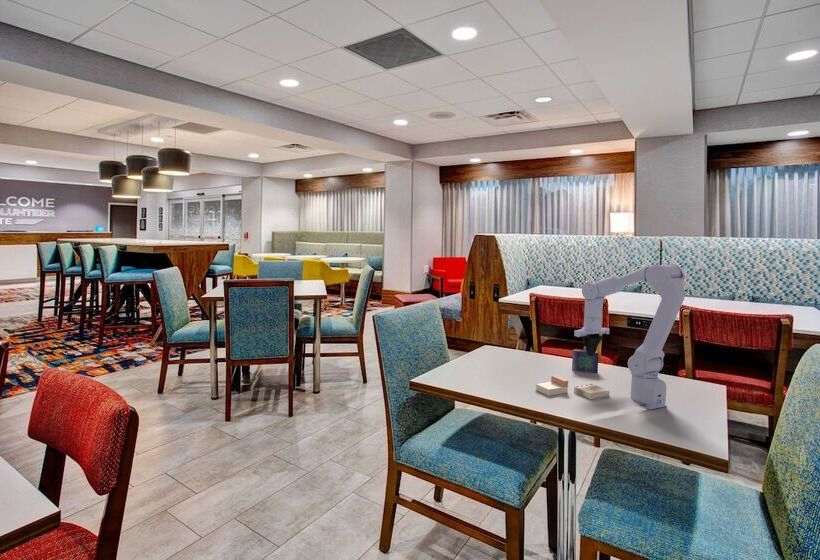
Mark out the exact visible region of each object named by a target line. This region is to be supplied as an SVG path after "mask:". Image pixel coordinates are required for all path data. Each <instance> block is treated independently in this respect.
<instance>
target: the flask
mask: <svg viewBox="0 0 820 560" xmlns="http://www.w3.org/2000/svg"><path fill="white" fill-rule="evenodd" d="M571 362H572V363H571V370H572V371H575V372H577V371H579V372H586V373H592V374H598V373H599V372H598V371H599V370H598V369H599V352H598V351H596V352H595V355H594V356H589V355H587V351H586V347H585V345H584V346H583V349H573V350H572V361H571Z"/></svg>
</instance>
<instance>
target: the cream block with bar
mask: <svg viewBox="0 0 820 560" xmlns="http://www.w3.org/2000/svg"><path fill="white" fill-rule="evenodd" d="M550 378H551V381H547V382H540V383H536V384H535V391H537V392H540V393H541V394H544V395H546V396H548V397H549V396H554V395H560V394H567V393H568V389H569V380H567V379H565V378H562V377H561V376H558V375H556V374H555V375H551V377H550Z"/></svg>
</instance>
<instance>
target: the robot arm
mask: <svg viewBox="0 0 820 560" xmlns="http://www.w3.org/2000/svg"><path fill="white" fill-rule="evenodd" d="M685 279H686V274H685V273H684V272H683V270H682V268H681V267H680V266H679V265H677V264H675V263H669V264H651V265H648V266H644V267H641V268H638V269H636V270H634V271H632V272H628V273H627V274H624V275H622V276H619V275H616V274H607V277H605V278H602V279H597V280H595V282H587V283H585V284H584V285H583V286H582V288H581V294H582V297H583V298H584V313H583V314H584V316H583V327H581V328H580V329H577V330H576V329H575V330H574V332H573V333H574V334H573V335H574V337H577V338H580V337H581V339H582V340H583V343H584V346H585V347H586V351H587V355H589V356H594V355H595V352H597V349H598V347H599V344H600V343H601V341H603V336H602V335H605V334H606V335H610V328H608V327H602V319H603V305H604V302H605V301H604V300H605V298H606V297H607V296H611V295H613V294H617V293H620V292H622V291H623V289H624V287H626V286H629V285H633V284H636V283H639V282H644V283H645V282H646V283H648V284H649V285H650V286H651V288H653V289H654V290H655V291H656V293H658V294H659V296H660V298H661V299H660V302H659V305H658V306H657V309H656V311H655V314H654V316H653V319H652V320H651V323H650V326H649V328H648V330H647V333H646V335H645V338H644V340H643V342H642V343H641V345H640V346H639V347H637V348H636V349H635V351H634V353H633V355H631V356H630V357H629V358H628V361H627V368H628V370H629V372H630V374H631V384H630V399H631V400H633V401H635V402H639V403H642V404H640V405H638V406H639V407H641V408H645V409H646V410H655V409H659V408H663V407H664V408H665V407H667V406H668V405H667V403H666V400H667V399H666V398H667V384H666V382H665V381H664V380H663V379H660V378H659V372H660V371H661V370H662V369H663V367H664V357H665V355H666V354H665V352H664V351H663V348H664V345H665V343H666V342H667V339H668V337H669V335H670V332H671V330H672V327H673V326H674V323H675V321H676V319H677V316H678V314H679V311H680V310H681V308H682V305H683V302H684V301H685V288H684V287H685V286H684V284H685V283H684V282H685Z"/></svg>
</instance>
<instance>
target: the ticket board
mask: <svg viewBox="0 0 820 560" xmlns="http://www.w3.org/2000/svg"><path fill="white" fill-rule="evenodd" d="M573 391H574V392H573V393H574V394H577V395H579V396H582V397H584V398H587V399H589V400H595V399H599V398H600V399H601V398H607V397H610V389H607V388H604V387H602V386H600V385H596V384H594V383H590V384H583V385H577V386H574V388H573Z"/></svg>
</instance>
